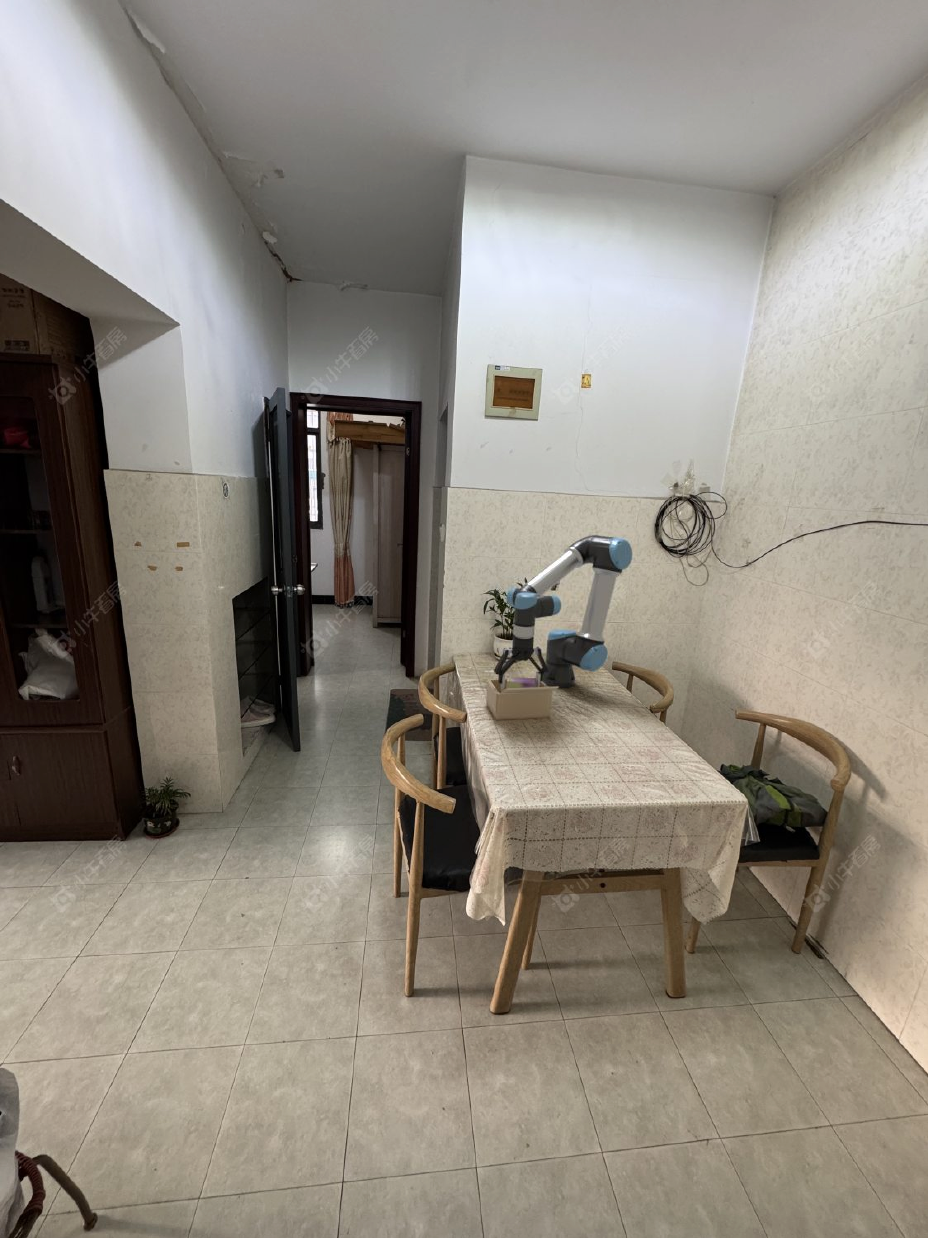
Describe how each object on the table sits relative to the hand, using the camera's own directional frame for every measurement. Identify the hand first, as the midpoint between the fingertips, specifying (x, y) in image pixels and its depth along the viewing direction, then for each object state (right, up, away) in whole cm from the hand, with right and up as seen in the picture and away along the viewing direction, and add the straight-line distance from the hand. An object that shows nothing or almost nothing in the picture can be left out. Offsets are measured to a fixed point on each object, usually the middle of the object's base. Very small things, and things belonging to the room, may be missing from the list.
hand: (519, 690), depth 186 cm
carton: (-1, -8, +2) cm, 8 cm away
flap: (+2, +2, -12) cm, 12 cm away
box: (0, -7, +2) cm, 8 cm away
